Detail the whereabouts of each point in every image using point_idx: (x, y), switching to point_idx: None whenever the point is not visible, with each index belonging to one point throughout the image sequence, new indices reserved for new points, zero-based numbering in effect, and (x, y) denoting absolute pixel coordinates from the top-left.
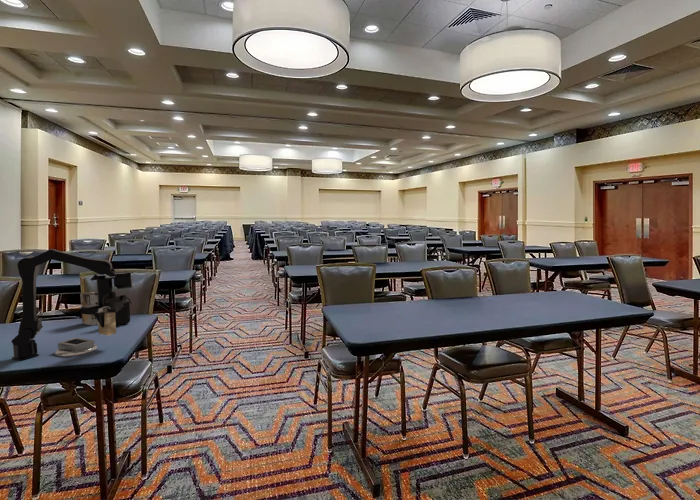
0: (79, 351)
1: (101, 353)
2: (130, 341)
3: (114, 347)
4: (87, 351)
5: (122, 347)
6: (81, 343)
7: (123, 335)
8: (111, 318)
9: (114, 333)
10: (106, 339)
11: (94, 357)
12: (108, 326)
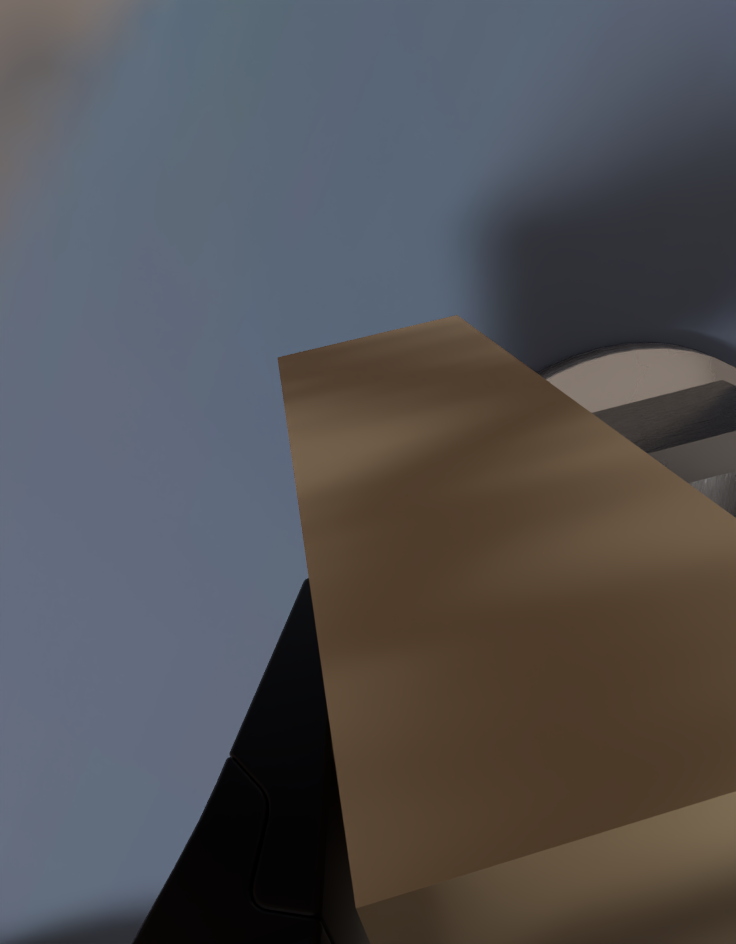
0: (681, 394)
1: (552, 154)
2: (17, 395)
3: (306, 291)
4: (618, 352)
5: (227, 174)
6: (695, 464)
7: (21, 705)
8: (520, 549)
9: (319, 350)
10: (227, 681)
11: (707, 38)
12: (532, 387)
